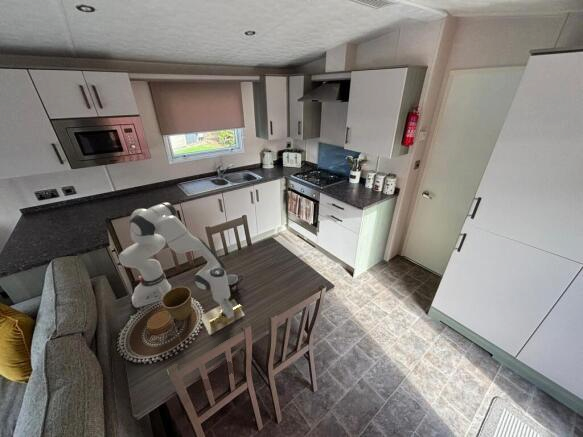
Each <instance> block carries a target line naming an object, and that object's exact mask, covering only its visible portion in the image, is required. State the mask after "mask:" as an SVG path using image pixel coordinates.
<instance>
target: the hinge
mask: <svg viewBox="0 0 583 437" xmlns="http://www.w3.org/2000/svg"><path fill="white" fill-rule="evenodd" d="M233 311H234V315H236V314H238V313H239V312H241V311H242V312H243V310H242V305H241V304H238V306H236V307H235V308H233ZM232 318H233V317H231V318H229V319H228V318H227V316H223V312H222V310H221V311H220V313H219V316H218V317H216V318H214V319H212V320H210V321H209V322H210V326H211V328H212V327H214V326H216V325H217V324H219V323H221V322H222V323H223V324H228V323H229V322H231V321H232ZM228 325H229V324H228Z"/></svg>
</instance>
